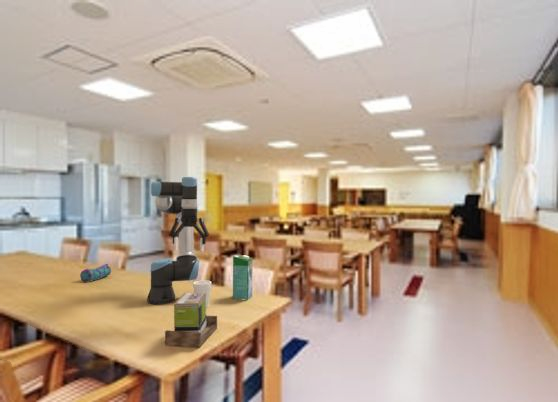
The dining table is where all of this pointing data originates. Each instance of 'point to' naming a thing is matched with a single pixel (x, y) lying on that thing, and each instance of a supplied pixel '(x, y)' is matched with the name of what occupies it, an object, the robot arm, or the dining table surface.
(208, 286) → the foam cup
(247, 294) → the milk carton
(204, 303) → the tea box
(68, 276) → the dining table surface
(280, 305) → the dining table surface
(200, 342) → the wooden tray
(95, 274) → the pencil case
